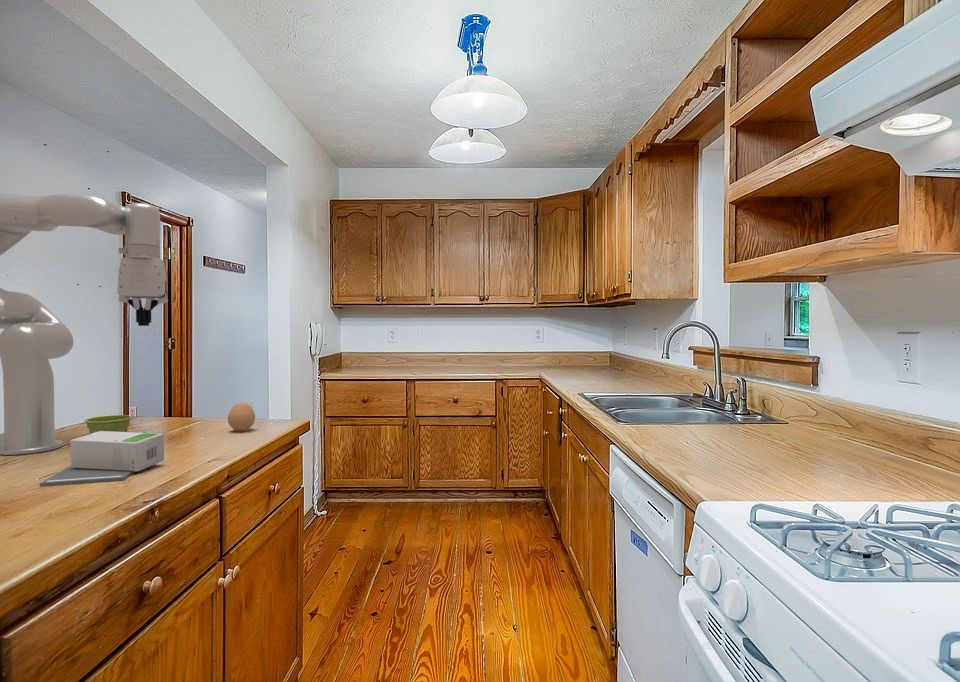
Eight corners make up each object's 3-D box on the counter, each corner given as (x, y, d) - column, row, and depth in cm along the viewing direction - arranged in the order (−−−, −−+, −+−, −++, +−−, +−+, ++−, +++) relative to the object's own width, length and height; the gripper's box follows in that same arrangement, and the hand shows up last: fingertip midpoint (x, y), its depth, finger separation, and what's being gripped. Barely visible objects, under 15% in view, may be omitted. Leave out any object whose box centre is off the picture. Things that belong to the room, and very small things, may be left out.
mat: (39, 486, 101) (39, 482, 101) (69, 468, 113) (69, 465, 113) (123, 480, 105) (123, 477, 105) (143, 464, 117) (143, 461, 117)
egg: (237, 434, 150) (237, 405, 150) (222, 431, 154) (222, 402, 154) (260, 430, 156) (260, 402, 156) (245, 427, 160) (245, 400, 160)
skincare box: (137, 443, 109) (67, 439, 110) (138, 474, 109) (69, 469, 111) (164, 432, 117) (100, 429, 118) (165, 461, 118) (101, 457, 119)
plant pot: (86, 460, 120) (86, 423, 120) (83, 453, 127) (82, 417, 127) (135, 454, 127) (134, 418, 126) (129, 447, 134) (128, 413, 133)
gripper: (103, 250, 127) (104, 325, 128) (172, 253, 132) (173, 326, 132) (114, 254, 135) (115, 325, 135) (179, 257, 139) (180, 326, 140)
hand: (143, 325), depth 134 cm, fingers closed
